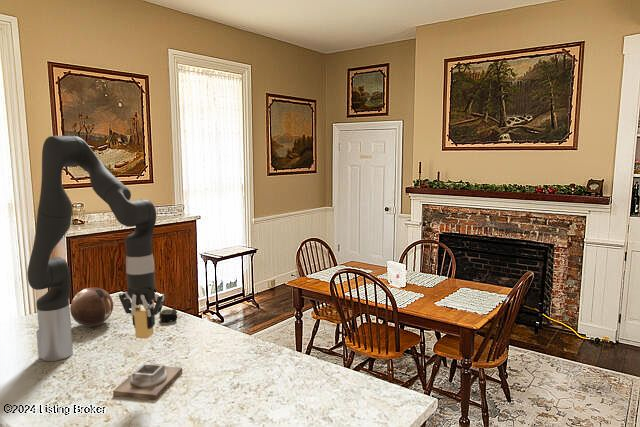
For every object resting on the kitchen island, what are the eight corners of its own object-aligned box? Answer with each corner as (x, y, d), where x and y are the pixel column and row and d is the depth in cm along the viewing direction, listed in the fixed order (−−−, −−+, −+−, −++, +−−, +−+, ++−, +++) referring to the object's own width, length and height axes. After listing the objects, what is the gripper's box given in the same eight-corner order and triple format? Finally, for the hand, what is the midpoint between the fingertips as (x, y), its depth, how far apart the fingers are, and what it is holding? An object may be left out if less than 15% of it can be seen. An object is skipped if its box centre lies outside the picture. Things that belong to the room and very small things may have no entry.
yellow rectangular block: (135, 337, 132) (133, 311, 131) (142, 333, 135) (140, 307, 134) (147, 338, 131) (145, 312, 130) (153, 333, 135) (151, 307, 134)
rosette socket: (113, 395, 129) (112, 380, 128) (143, 368, 145) (142, 355, 144) (156, 399, 127) (155, 384, 126) (182, 372, 143) (181, 358, 142)
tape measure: (177, 322, 183) (177, 313, 183) (159, 324, 181) (159, 315, 180) (177, 316, 190) (176, 307, 189) (159, 318, 187) (159, 309, 187)
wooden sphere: (64, 326, 178) (61, 289, 176) (101, 315, 190) (98, 280, 188) (84, 336, 169) (81, 297, 167) (122, 323, 182) (119, 286, 179)
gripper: (109, 272, 128) (114, 331, 130) (156, 274, 126) (160, 334, 128) (125, 265, 135) (129, 321, 138) (169, 267, 133) (173, 323, 136)
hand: (144, 327), depth 133 cm, fingers closed on yellow rectangular block, 3 cm apart
